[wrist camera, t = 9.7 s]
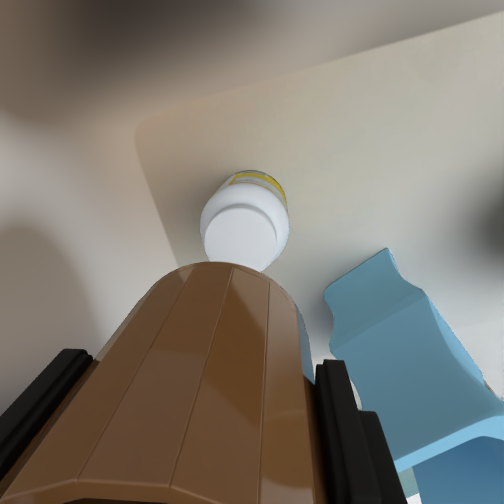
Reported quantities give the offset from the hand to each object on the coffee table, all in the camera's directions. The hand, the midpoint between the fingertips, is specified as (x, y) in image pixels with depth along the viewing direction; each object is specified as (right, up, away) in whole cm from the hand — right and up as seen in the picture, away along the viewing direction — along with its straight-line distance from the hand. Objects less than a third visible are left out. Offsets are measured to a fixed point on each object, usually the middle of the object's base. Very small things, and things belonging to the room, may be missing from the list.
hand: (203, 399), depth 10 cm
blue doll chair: (+13, -1, +26) cm, 29 cm away
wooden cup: (0, +1, +3) cm, 3 cm away
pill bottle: (+1, +9, +24) cm, 25 cm away
